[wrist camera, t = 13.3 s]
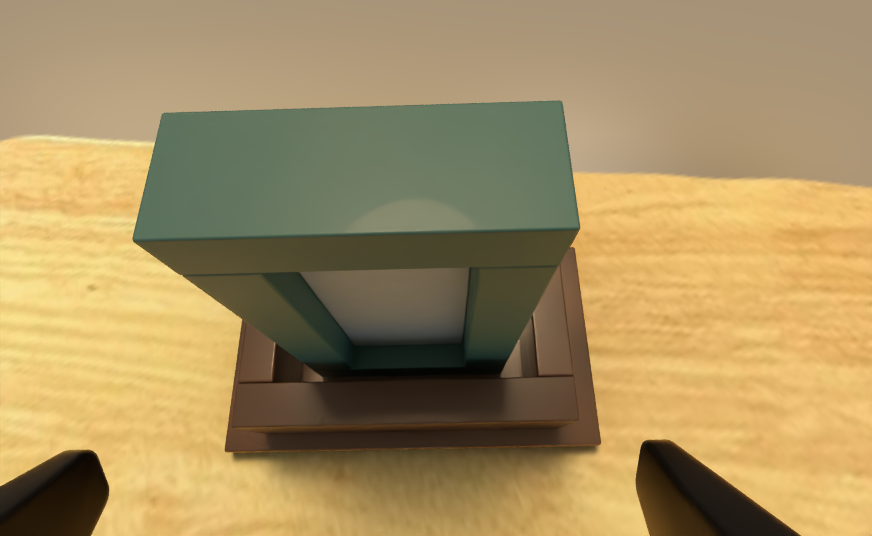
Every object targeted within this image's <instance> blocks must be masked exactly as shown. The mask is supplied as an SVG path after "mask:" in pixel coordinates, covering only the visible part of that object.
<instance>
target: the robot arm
mask: <svg viewBox="0 0 872 536" xmlns="http://www.w3.org/2000/svg"><path fill="white" fill-rule="evenodd" d="M636 490H637V494H638V498H639V501H640V504H641V508H642V511H643V514H644V518H645V521H646V524H647V528H648V531H649V534H650V536H801V535H799V534H798V533H797V532H795V531H794V530H792V529H791V528H790V527H788V526H787V525H786V524H784V523H783V522H782V521H780V520H779V519H777V518H776V517H775V516H773V515H772V514H771V513H769V512H768V511H767V510H765V509H764V508H762V507H761V506H760V505H758V504H757V503H756V502H754V501H753V500H752V499H750V498H749V497H747V496H746V495H745V494H743V493H742V492H741V491H739V490H738V489H737V488H735V487H734V486H732V485H731V484H730V483H728V482H727V481H726V480H724V479H723V478H721V477H720V476H719V475H717V474H716V473H715V472H713V471H712V470H711V469H709V468H708V467H706V466H705V465H704V464H702V463H701V462H700V461H698V460H697V459H696V458H694V457H693V456H691V455H690V454H689V453H687V452H686V451H685V450H683V449H682V448H681V447H679V446H678V445H676V444H675V443H674V442H672V441H670V440H646V441H644V442H643V443H642V445H641V449H640V455H639V461H638V467H637V473H636ZM108 496H109V485H108V482H107V479H106V477H105V474H104V472H103V469H102V466H101V464H100V461H99V458H98V456H97V454H96V453H95V452H93V451H91V450H68V451H64V452H62V453H60V454H58V455H56V456H54V457H53V458H51V459H49V460H47V461H45V462H44V463H42V464H40V465H38V466H36V467H35V468H33V469H31V470H29V471H27V472H26V473H24V474H22V475H20V476H18V477H17V478H15V479H13V480H11V481H9V482H8V483H6V484H4V485H2V486H0V536H91V535H92V532H93V530H94V528H95V526H96V524H97V522H98V520H99V518H100V516H101V514H102V512H103V509H104V507H105V505H106V503H107V500H108Z"/></svg>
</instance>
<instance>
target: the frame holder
mask: <svg viewBox="0 0 872 536" xmlns="http://www.w3.org/2000/svg"><path fill="white" fill-rule="evenodd" d="M600 444H601V438H600V431H599V424H598V416H597V409H596V402H595V394H594V387H593V379H592V372H591V365H590V357H589V350H588V343H587V335H586V328H585V321H584V313H583V306H582V298H581V291H580V284H579V276H578V269H577V262H576V254H575V248H573V247H570V248H569V250H568V252H567V254H566V255H565V257H564V259H563V261H562V263H561V264H560V265H559V266H558V268H557V270H556V272H555V274H554V276H553V278H552V279H551V281H550V283H549V285H548V287H547V289H546V291H545V292H544V294H543V296H542V298H541V300H540V302H539V303H538V305H537V307H536V309H535V311H534V313H533V315H532V316H531V318H530V320H529V322H528V324H527V326H526V327H525V329H524V331H523V333H522V335H521V337H520V338H519V340H518V342H517V344H516V346H515V348H514V350H513V351H512V353H511V355H510V357H509V359H508V361H507V362H506V364H505V367H504V369H503V371H502V372H501V373H500V374H455V375H409V376H364V377H321V376H320V375H319V374H317V373H316V372H315V371H313V370H312V369H311V368H309V367H308V366H307V365H305V364H304V363H303V362H301V361H300V360H298V359H297V358H296V357H294V356H293V355H291V354H290V353H289V352H287V351H286V350H284V349H283V348H282V347H280V346H279V345H278V344H276V343H275V342H273V341H272V340H271V339H269V338H268V337H266V336H265V335H264V334H262V333H261V332H259V331H258V330H257V329H255V328H254V327H253V326H251V325H250V324H248V323H247V322H246V321H244V320H243V319H242V326H241V333H240V340H239V348H238V355H237V362H236V370H235V377H234V385H233V392H232V399H231V407H230V414H229V422H228V429H227V436H226V444H225V452H229V453H251V452H302V451H353V450H404V449H455V448H506V447H557V446H596V445H600Z"/></svg>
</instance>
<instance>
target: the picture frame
mask: <svg viewBox="0 0 872 536" xmlns="http://www.w3.org/2000/svg"><path fill="white" fill-rule="evenodd" d="M571 167H572V166H571V159H570V152H569V145H568V139H567V131H566V124H565V117H564V111H563V104H562V102H561V101H534V102H503V103H502V102H500V103H471V104H470V103H469V104H436V105H406V106H405V105H404V106H374V107H339V108H310V109H309V108H307V109H275V110H245V111H244V110H243V111H214V112H213V111H211V112H180V113H163V114H162V117H161V121H160V125H159V129H158V134H157V138H156V142H155V146H154V150H153V154H152V159H151V163H150V167H149V171H148V175H147V180H146V184H145V188H144V192H143V196H142V201H141V205H140V209H139V213H138V218H137V222H136V226H135V230H134V234H133V242H135V243H136V244H137V245H139V246H140V247H142V248H143V249H144V250H146V251H147V252H148V253H150V254H151V255H153V256H154V257H155V258H157V259H158V260H160V261H161V262H162V263H164V264H165V265H167V266H168V267H169V268H171V269H172V270H174V271H175V272H176V273H178V274H180V275H183V277H185V278H186V279H187V280H189V281H190V282H191V283H193V284H194V285H196V286H197V287H198V288H200V289H201V290H203V291H204V292H205V293H207V294H208V295H210V296H211V297H212V298H214V299H215V300H216V301H218V302H219V303H221V304H222V305H223V306H225V307H226V308H228V309H229V310H230V311H232V312H233V313H235V314H236V315H237V316H239V317H240V318H241V319H243V320H244V321H246V322H247V323H248V324H250V325H251V326H253V327H254V328H255V329H257V330H258V331H259V332H261V333H262V334H264V335H265V336H266V337H268V338H269V339H271V340H272V341H273V342H275V343H276V344H278V345H279V346H280V347H282V348H283V349H284V350H286V351H287V352H289V353H290V354H291V355H293V356H294V357H296V358H297V359H298V360H300V361H301V362H303V363H304V364H305V365H307V366H308V367H309V368H311V369H312V370H313V371H315V372H316V373H317V374H319V375H320V376H321V377H364V376H409V375H455V374H500V373H501V372H502V371H503V369H504V367H505V364H506V362H507V361H508V359H509V357H510V355H511V353H512V351H513V350H514V348H515V346H516V344H517V342H518V340H519V338H520V337H521V335H522V333H523V331H524V329H525V327H526V326H527V324H528V322H529V320H530V318H531V316H532V315H533V313H534V311H535V309H536V307H537V305H538V303H539V302H540V300H541V298H542V296H543V294H544V292H545V291H546V289H547V287H548V285H549V283H550V281H551V279H552V278H553V276H554V274H555V272H556V270H557V268H558V266H559V265H560V264H561V263H562V261H563V259H564V257H565V255H566V254H567V252H568V250H569V248H570V246H571V244H572V243H573V241H574V239H575V237H576V235H577V234H578V232H579V230H580V222H579V215H578V208H577V201H576V194H575V187H574V180H573V173H572V168H571Z"/></svg>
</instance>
